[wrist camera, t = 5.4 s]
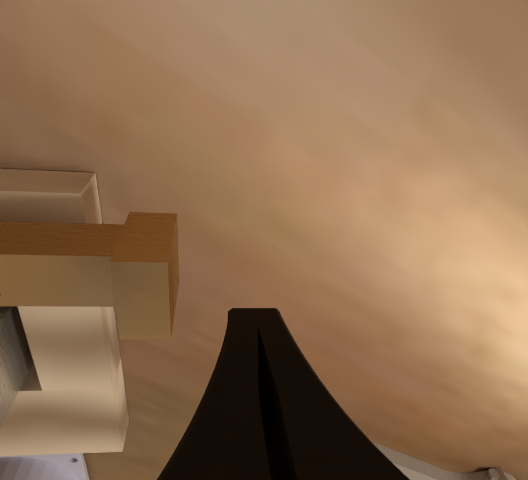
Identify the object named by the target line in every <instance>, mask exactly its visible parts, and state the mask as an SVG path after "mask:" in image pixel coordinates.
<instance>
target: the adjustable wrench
mask: <svg viewBox="0 0 528 480" xmlns="http://www.w3.org/2000/svg"><path fill="white" fill-rule="evenodd" d="M372 443H373V444H374V445H375V446H376V447H377V448H378V449H379V450H380V451H381V452H382V453H383V454H384V455H385V456H386V457H387V458H388V459H389V460H390V461H391V462H392V463H393V464H394V465H395V466H396V467H397V468H398V469H399V470H400V471H401V472H402V473H403V474H405V475H406V476H407V477H408V478H409V479H410V480H516V479H515V478H514V477H513V476H512V475H510V474H508V473H505V472H503V471H502V469H501V467H496V468H493V469H492V468H490V469H489V470H486V471H481V472H472V473H455V472H449V471H446V470H443V469H440V468H438V467H435V466H433V465H430V464H427V463H425V462H422V461H420V460H417V459H415V458H412V457H410V456H407V455H404V454H402V453H399V452H397V451H394V450H392V449H389V448H387V447H384V446H381V445H379V444H376V443H374V442H372Z"/></svg>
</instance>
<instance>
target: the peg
mask: <svg viewBox="0 0 528 480" xmlns="http://www.w3.org/2000/svg"><path fill="white" fill-rule="evenodd" d="M33 362H34V361H33V358H32V354H31V351H30V347H29V344H28V341H27V337H26V334H25V330H24V327H23V324H22V320H21V317H20V313H19V310H18V307H17V306H0V428H1V426H2V424H3V422H4V420H5V418H6V416H7V414H8V412H9V410H10V408H11V406H12V404H13V402H14V400H15V398H16V396H17V394H18V392H19V390H20V388H21V386H22V384H23V382H24V380H25V378H26V376H27V374H28V372H29V370H30V368H31V366H32V364H33Z"/></svg>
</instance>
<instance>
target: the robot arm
mask: <svg viewBox="0 0 528 480" xmlns="http://www.w3.org/2000/svg"><path fill="white" fill-rule="evenodd" d="M0 480H89V476H88V472H87V468H86V464H85V460H84V456H83V453H71V454H44V455H17V456H0ZM157 480H410V479H409V478H408V477H407V476H406V475H405V474H403V473H402V472H401V471H400V470H399V469H398V468H397V467H396V466H395V465H394V464H393V463H392V462H391V461H390V460H389V459H388V458H387V457H386V456H385V455H384V454H383V453H382V452H381V451H380V450H379V449H378V448H377V447H376V446H375V445H374V444H373V443H372V442H371V441H370V440H369V439H368V438H367V437H366V435H365V434H364V433H363V432H362V431H361V430H360V429H359V428H358V427H357V426H356V424H355V423H354V422H353V421H352V420H351V419H350V417H349V416H348V415H347V414H346V413H345V412H344V410H343V409H342V408H341V407H340V406H339V404H338V403H337V402H336V401H335V399H334V398H333V397H332V395H331V394H330V393H329V391H328V390H327V389H326V387H325V386H324V385H323V383H322V382H321V381H320V379H319V378H318V376H317V375H316V373H315V372H314V371H313V369H312V368H311V366H310V364H309V363H308V361H307V360H306V358H305V357H304V355H303V354H302V352H301V351H300V349H299V347H298V346H297V344H296V342H295V341H294V339H293V337H292V335H291V334H290V332H289V330H288V328H287V326H286V324H285V322H284V320H283V318H282V316H281V314H280V312H279V311H278V310H277V309H276V308H232V309H231V310H229V311H228V323H227V329H226V334H225V338H224V341H223V345H222V348H221V351H220V354H219V357H218V360H217V363H216V366H215V369H214V371H213V374H212V376H211V379H210V381H209V383H208V386H207V388H206V391H205V393H204V395H203V398H202V400H201V402H200V404H199V406H198V408H197V410H196V412H195V414H194V416H193V418H192V420H191V422H190V424H189V426H188V428H187V430H186V432H185V433H184V435H183V437H182V439H181V441H180V442H179V444H178V446H177V448H176V449H175V451H174V453H173V455H172V456H171V458H170V460H169V461H168V463H167V465H166V466H165V468H164V469H163V471H162V473H161V474H160V476H159V477H158V479H157Z"/></svg>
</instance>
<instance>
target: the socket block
mask: <svg viewBox="0 0 528 480" xmlns="http://www.w3.org/2000/svg"><path fill="white" fill-rule="evenodd" d="M0 221H14V222H49V223H84V224H102V218H101V211H100V204H99V196H98V189H97V182H96V175H95V173H89V172H66V171H43V170H20V169H0ZM17 307H18V310H19V313H20V317H21V320H22V324H23V327H24V330H25V334H26V337H27V341H28V344H29V347H30V351H31V354H32V358H33V361H34V362H33V364H32V366H31V368H30V370H29V372H28V374H27V376H26V378H25V380H24V382H23V384H22V386H21V388H20V390H19V392H18V394H17V396H16V398H15V400H14V402H13V404H12V406H11V408H10V410H9V412H8V414H7V416H6V418H5V420H4V422H3V424H2V426H1V428H0V456H17V455H44V454H71V453H98V452H122V451H123V446H124V441H125V437H126V432H127V427H128V422H129V416H128V409H127V401H126V394H125V387H124V379H123V372H122V365H121V358H120V350H119V343H118V336H117V328H116V321H115V314H114V307H52V306H17Z"/></svg>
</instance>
